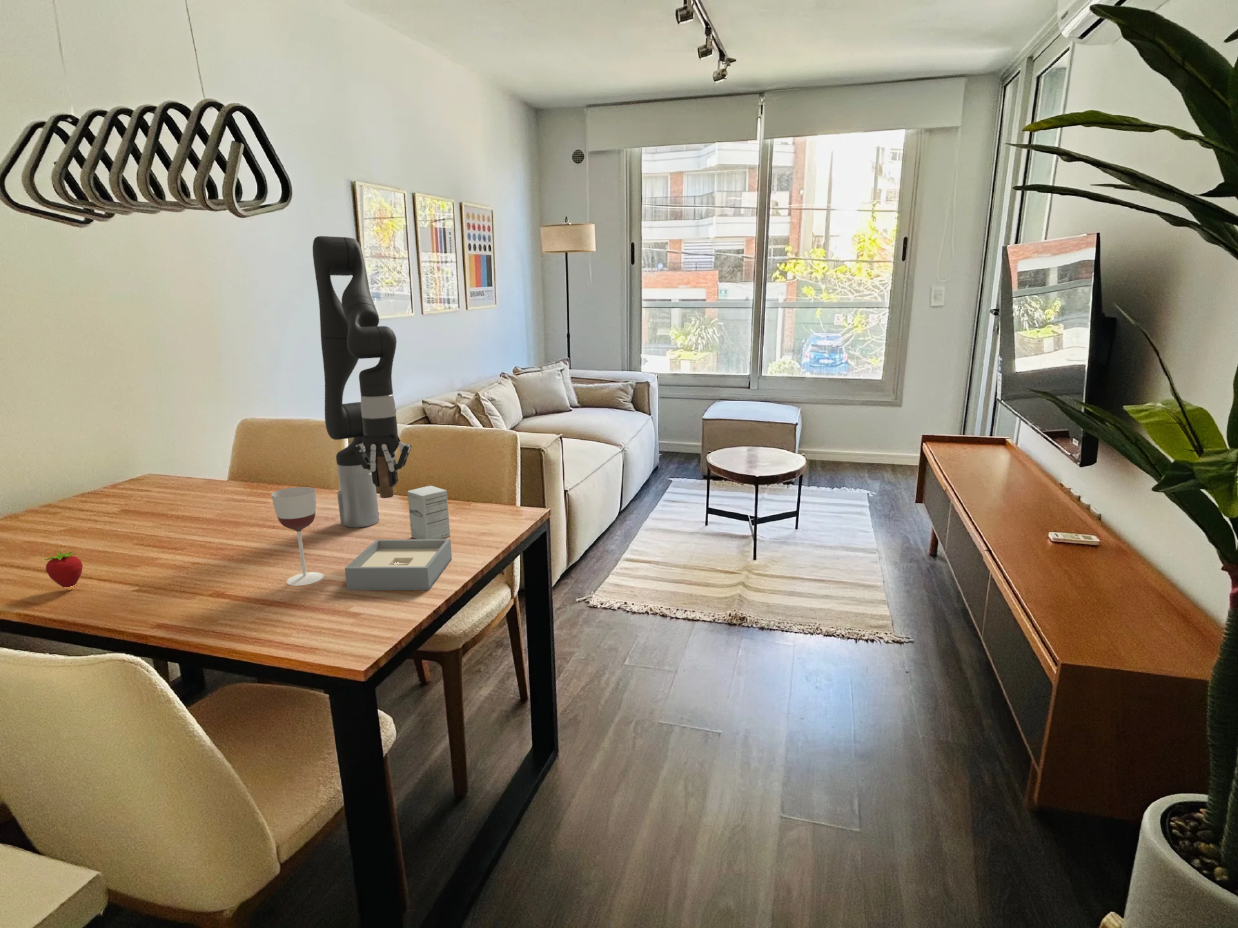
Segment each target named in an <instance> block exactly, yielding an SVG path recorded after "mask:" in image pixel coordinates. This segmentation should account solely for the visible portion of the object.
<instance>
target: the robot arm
mask: <svg viewBox="0 0 1238 928" xmlns="http://www.w3.org/2000/svg"><path fill="white" fill-rule="evenodd" d="M312 259H313V266H314V273H315V281H316V289H317V296H318V305H319V324H320V325H319V328H320V344H321V353H322V361H323V362H322V363H323V374H324V424H325V428H326V432H327V435H328V436H329V437H330V439H332V440H334V441H339V440H344V439H345V440H347V439H353V440H352V442H351V443H349V445H348V446H346V447H345V448H342V449H341V450H339V451H337V453H336V456H335V458H336V467H337V475H338V484H339V485H338V486H339V491H337V501H338V502H337V503H338V510H339V511H338V512H339V517H340V518H339V519H340V521H339V522H340V526H341V527H342V526H344V527H348V528H364V527H369V526H373V525H376V524H377V523H379V522H380V513H379V504H378V495H377V488H379V479H378V470H377V459H376V458H377V457H385V459H386V462H387V463H388V466H389V470H390V472H389V480H390V487H393V488H394V487H395V486H397V485H398V483H399V475H398V470H401V469H403V468H404V467H405V466H406V463H407V461H408V457H409V456H410V452H411V449H412V444H410V443H405V442H402V441H401V439H400V437H399V435H398V434H399V433H398V421H397V408H396V403H395V399H394V397H395V396H394V391H393V381H392V378H393V377H392V375H393V374H392V373H393V365H394V364H393V363H394V360H395V359H394V357H395V354H396V349H397V336H396V334H395V332H394V330H393V329H392V328H391V327H389V326H387V325H385V326H384V325H379V323H380V316H379V313H378V311H377V308H376V305H375V302H374V300H373V298H372V295H371V290H370V285H369V278H368V274H367V270H366V264H365V259H364V255H363V250H362V248H361V244H360V243H359V242H358V241H357V240H356V239H355V238H352V237H346V236H345V237H344V236H328V235H327V236H325V235H319V236H316V237H315V238H314V239H313V242H312ZM331 276H337V277H338V276H343V277H344V276H346V277H347V276H352V277H351V279H350V281H349V282H348V284H347V286H346V287H345V289H344V291H343V293H342V296H341V300H340V298H339V296H338V295H337V293H336V291H335V288H334V286H333V282H332V279H331ZM360 359H361V360H363V359H365V360H366V359H379V360H378V363H377V364H376V365H375V366H373V367H369V368H366V369H363V370H361V371H360V372H359V375H358V380H359V381H358V382H359V391H360V401H359V402H357V401H355V402H348V403H343V400H344V399H343V397H344V392H345V387H346V385H347V382H348V380H349V378H350V377H351V375H352V373H353V372H354V370H355V368H356V367H357V364H358V361H359V360H360ZM398 448H399V453H400V455H399V459H398V460H397V454H396V452H397V450H398Z"/></svg>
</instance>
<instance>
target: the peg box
mask: <svg viewBox="0 0 1238 928" xmlns="http://www.w3.org/2000/svg"><path fill="white" fill-rule="evenodd" d="M452 560H453V555H452V542H451V539H450V538H443V539H416V538H414V539H413V538H412V539H410V538H409V539H402V538H401V539H399V538H398V539H375V540H374V541H373V542H372V543H371V544H370V545H369V546H368V547H366V549H364V550H363V551H362V552H361V553H360V554H359V555H357V557H355V559H354V560H352V561H351V562H350V563H349V564H348V565H347V566H346V567H344V571H345V572H344V573H345V581H346V582H345V583H346V589H347V590H346V591H430V590H431V589H432V587H433V586H434V584H435V583H436V581H437V580H439V578H440V576H441V575H442V574H443V573H444V571H445V569H446V568H447V567H448V565H449V564H450V563H451V561H452ZM395 562H396V563H397V562H399V563H409V564H408V565H394V563H395Z"/></svg>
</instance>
